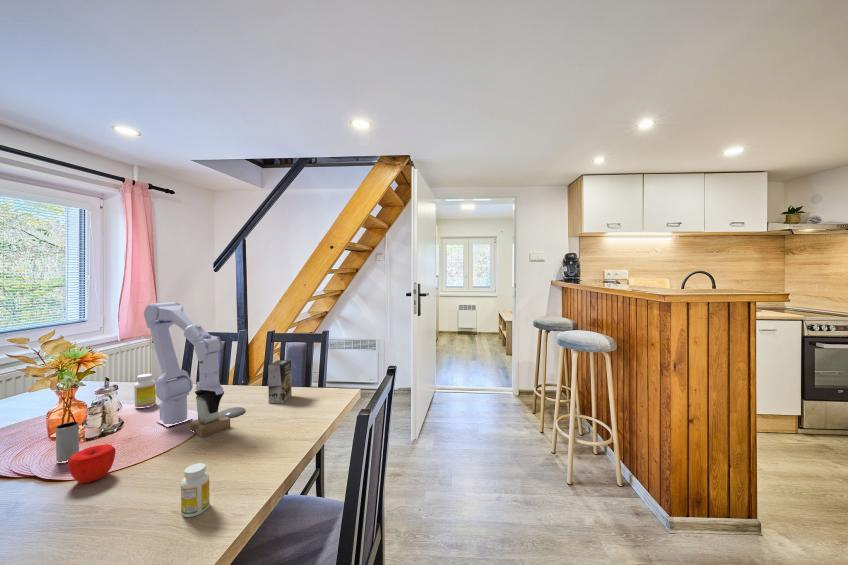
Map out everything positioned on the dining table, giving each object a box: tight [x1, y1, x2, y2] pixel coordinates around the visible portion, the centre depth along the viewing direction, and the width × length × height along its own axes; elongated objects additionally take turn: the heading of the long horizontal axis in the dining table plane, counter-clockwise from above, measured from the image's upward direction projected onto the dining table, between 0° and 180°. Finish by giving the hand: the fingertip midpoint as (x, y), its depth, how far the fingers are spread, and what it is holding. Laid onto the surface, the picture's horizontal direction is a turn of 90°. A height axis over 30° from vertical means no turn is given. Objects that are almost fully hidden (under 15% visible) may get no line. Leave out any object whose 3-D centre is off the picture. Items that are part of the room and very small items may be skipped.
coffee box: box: [267, 359, 293, 404], centre depth 144 cm, size 9×6×16 cm
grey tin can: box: [55, 421, 80, 462], centre depth 97 cm, size 4×4×10 cm
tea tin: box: [195, 392, 220, 424], centre depth 116 cm, size 5×5×9 cm
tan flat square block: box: [189, 414, 231, 438], centre depth 117 cm, size 9×9×3 cm
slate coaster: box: [218, 406, 246, 419], centre depth 130 cm, size 9×9×1 cm
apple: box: [67, 443, 116, 484], centre depth 88 cm, size 9×9×8 cm
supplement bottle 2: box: [180, 462, 210, 518], centre depth 76 cm, size 5×5×10 cm
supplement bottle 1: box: [133, 373, 157, 408], centre depth 138 cm, size 7×7×13 cm
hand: (209, 411), depth 117 cm, fingers closed on tea tin, 5 cm apart
